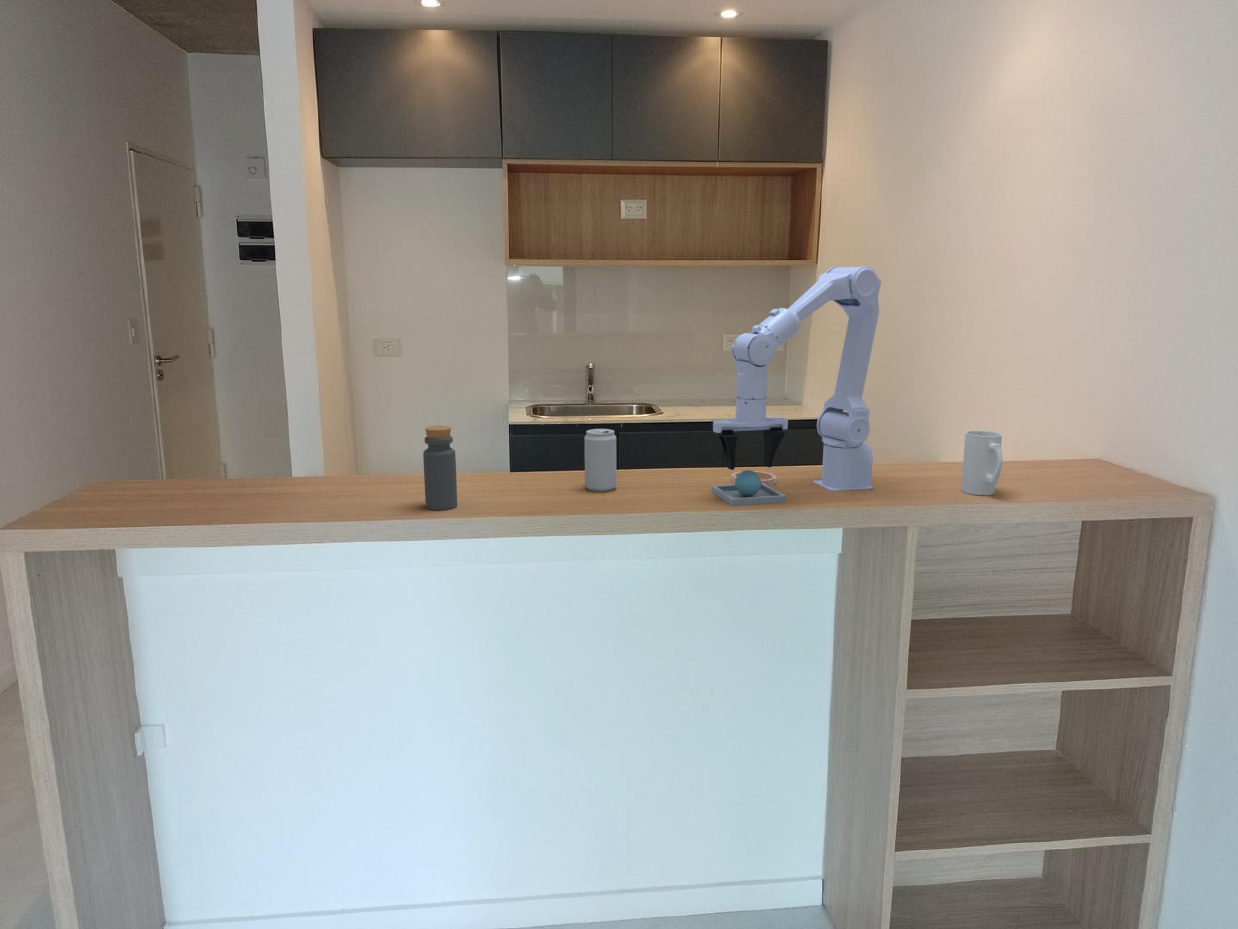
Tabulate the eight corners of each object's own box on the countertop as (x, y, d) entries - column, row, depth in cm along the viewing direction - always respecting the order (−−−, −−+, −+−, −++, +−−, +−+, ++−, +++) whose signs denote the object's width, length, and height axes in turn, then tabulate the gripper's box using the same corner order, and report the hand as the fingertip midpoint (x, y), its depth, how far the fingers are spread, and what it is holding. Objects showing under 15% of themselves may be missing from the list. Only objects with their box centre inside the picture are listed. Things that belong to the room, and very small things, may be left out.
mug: (953, 488, 177) (958, 430, 174) (983, 487, 178) (989, 429, 175) (981, 501, 167) (987, 440, 164) (1013, 499, 168) (1019, 439, 165)
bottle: (419, 506, 162) (415, 427, 159) (446, 500, 166) (442, 423, 163) (436, 512, 158) (433, 431, 155) (463, 506, 162) (460, 427, 159)
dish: (764, 477, 186) (765, 469, 186) (783, 487, 177) (783, 479, 177) (724, 479, 184) (724, 472, 183) (741, 489, 175) (741, 482, 175)
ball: (755, 492, 171) (756, 467, 170) (764, 498, 166) (765, 473, 165) (731, 492, 170) (732, 468, 169) (739, 499, 165) (740, 473, 164)
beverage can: (612, 493, 172) (612, 434, 169) (581, 491, 173) (581, 432, 171) (619, 486, 178) (619, 428, 176) (588, 484, 179) (588, 427, 177)
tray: (762, 490, 175) (763, 482, 174) (786, 504, 164) (786, 496, 164) (711, 493, 172) (711, 485, 172) (731, 507, 162) (731, 499, 161)
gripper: (778, 393, 169) (775, 460, 172) (708, 396, 166) (706, 465, 169) (793, 398, 163) (790, 468, 166) (721, 401, 159) (719, 473, 162)
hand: (749, 467), depth 167 cm, fingers open, 7 cm apart
